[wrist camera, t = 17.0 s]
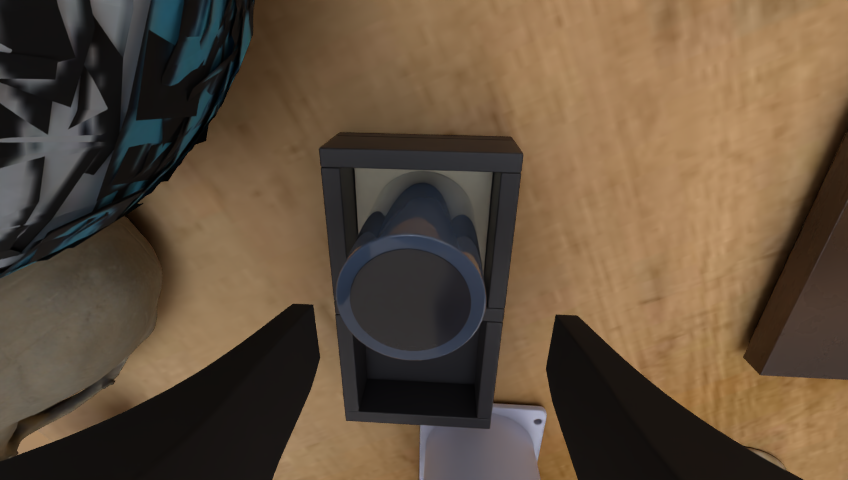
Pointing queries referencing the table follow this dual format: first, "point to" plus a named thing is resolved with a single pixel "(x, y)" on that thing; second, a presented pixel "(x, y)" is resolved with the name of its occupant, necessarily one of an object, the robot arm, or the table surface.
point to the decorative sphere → (103, 108)
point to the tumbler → (415, 270)
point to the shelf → (811, 292)
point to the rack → (495, 221)
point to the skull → (72, 327)
